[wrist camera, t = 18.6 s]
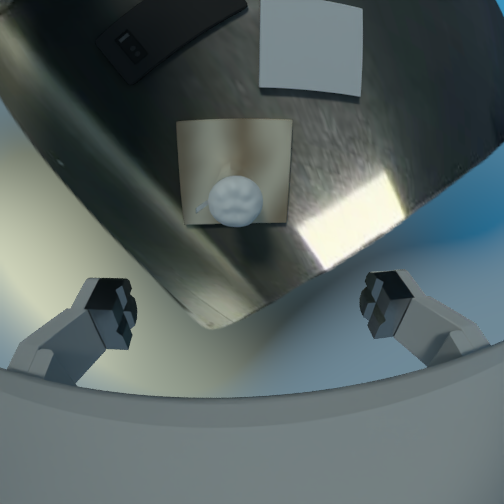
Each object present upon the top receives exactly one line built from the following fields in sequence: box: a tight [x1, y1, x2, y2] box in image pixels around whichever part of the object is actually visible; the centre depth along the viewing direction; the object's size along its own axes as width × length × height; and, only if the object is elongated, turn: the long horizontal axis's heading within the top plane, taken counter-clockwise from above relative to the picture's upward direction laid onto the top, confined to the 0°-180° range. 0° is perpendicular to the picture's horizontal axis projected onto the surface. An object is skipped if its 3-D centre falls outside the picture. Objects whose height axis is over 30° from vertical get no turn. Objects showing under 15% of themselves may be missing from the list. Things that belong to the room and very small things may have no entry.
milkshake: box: [196, 161, 263, 227], centre depth 26 cm, size 4×5×10 cm
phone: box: [95, 0, 247, 85], centre depth 21 cm, size 8×1×15 cm
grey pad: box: [259, 0, 363, 97], centre depth 23 cm, size 11×11×1 cm
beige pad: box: [176, 119, 292, 225], centre depth 31 cm, size 12×12×1 cm
